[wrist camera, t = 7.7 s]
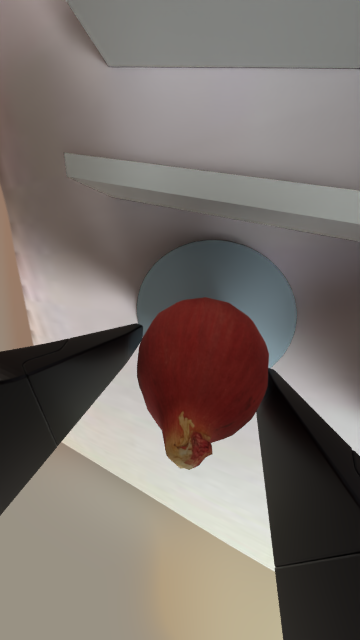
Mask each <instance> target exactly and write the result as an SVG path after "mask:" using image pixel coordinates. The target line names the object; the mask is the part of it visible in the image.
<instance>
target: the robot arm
mask: <svg viewBox="0 0 360 640" xmlns="http://www.w3.org/2000/svg"><path fill="white" fill-rule="evenodd" d="M142 337H143V326H142V325H140V324H137V323H136V324H131V325H127V326H122V327H118V328H113V329H109V330H105V331H100V332H96V333H91V334H87V335H82V336H78V337H73V338H70V339H64V340H60V341H55V342H51V343H46V344H41V345H35V346H30V347H25V348H19V349H13V350H7V351H1V352H0V515H1V514H2V513H3V512H4V510H5V509H6V508H7V507H8V506H9V504H10V503H11V502H12V501H13V500H14V498H15V497H16V496H17V495H18V493H19V492H20V491H21V490H22V489H23V487H24V486H25V485H26V484H27V483H28V481H29V480H30V479H31V478H32V477H33V475H34V474H35V473H36V472H37V471H38V469H39V468H40V467H41V466H42V465H43V463H44V462H45V461H46V460H47V458H48V457H49V456H50V455H51V454H52V453H53V451H54V450H55V449H56V448H57V446H58V445H59V444H60V443H61V441H62V440H63V439H64V438H65V437H66V435H67V434H68V433H69V432H70V431H71V429H72V428H73V427H74V426H75V425H76V423H77V422H78V421H79V420H80V419H81V417H82V416H83V415H84V414H85V413H86V411H87V410H88V409H89V408H90V406H91V405H92V404H93V403H94V402H95V400H96V399H97V398H98V397H99V396H100V394H101V393H102V392H103V391H104V390H105V388H106V387H107V386H108V385H109V384H110V382H111V381H112V380H113V379H114V378H115V376H116V375H117V374H118V373H119V372H120V370H121V369H122V368H123V367H124V365H125V364H126V363H127V362H128V360H129V359H130V357H131V356H132V354H133V353H134V351H135V350H136V348H137V347H138V345H139V344H140V342H141V340H142ZM256 413H257V422H258V431H259V439H260V447H261V456H262V464H263V473H264V481H265V489H266V498H267V506H268V514H269V523H270V531H271V539H272V548H273V556H274V564H275V574H276V583H277V591H278V599H279V608H280V616H281V625H282V633H283V640H360V456H359V455H358V454H357V453H356V452H355V451H353V450H352V448H351V447H350V446H349V445H348V444H347V443H346V442H345V441H344V440H343V439H342V438H341V437H340V436H339V435H338V434H337V433H336V432H335V431H334V430H333V429H332V428H331V427H330V426H329V425H328V424H327V423H326V422H325V421H324V420H323V419H322V418H321V417H320V416H319V415H318V414H317V413H316V412H315V411H314V410H313V409H312V408H311V407H310V406H309V405H308V403H307V402H306V401H305V400H304V399H303V398H302V397H301V396H300V395H299V394H298V393H297V392H296V391H295V390H294V389H293V388H292V387H291V386H290V385H289V384H288V383H287V382H286V381H285V380H284V379H283V378H282V377H281V376H280V375H279V374H278V373H277V372H276V371H275V370H273V369H270V368H268V386H267V389H266V392H265V395H264V397H263V399H262V401H261V403H260V405H259V407H258V409H257V411H256Z"/></svg>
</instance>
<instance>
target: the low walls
mask: <svg viewBox="0 0 360 640" xmlns="http://www.w3.org/2000/svg"><path fill="white" fill-rule="evenodd" d="M66 2H67V3H68V5H69V6H70V8H71V9H72V11H73V12H74V14H75V16H76V17H77V19H78V20H79V22H80V23H81V25H82V26H83V28H84V29H85V31H86V32H87V34H88V35H89V37H90V39H91V40H92V42H93V43H94V45H95V46H96V48H97V49H98V51H99V52H100V54H101V55H102V57H103V58H104V60H105V62H106V63H107V65H108V66H109V67H269V68H360V0H66ZM64 158H65V166H66V174H67V177H69V178H71V179H73V180H75V181H77V182H80V183H82V184H84V185H86V186H88V187H91V188H93V189H95V190H97V191H99V192H101V193H104V194H106V195H108V196H110V197H114V198H119V199H125V200H130V201H136V202H142V203H147V204H153V205H158V206H164V207H169V208H175V209H180V210H186V211H192V212H197V213H203V214H208V215H214V216H219V217H225V218H231V219H236V220H242V221H247V222H253V223H258V224H264V225H269V226H275V227H281V228H286V229H292V230H297V231H303V232H308V233H314V234H319V235H325V236H331V237H336V238H342V239H347V240H353V241H358V242H360V191H359V190H351V189H343V188H335V187H328V186H320V185H312V184H304V183H297V182H289V181H281V180H273V179H265V178H258V177H250V176H242V175H234V174H227V173H219V172H211V171H203V170H196V169H188V168H180V167H172V166H165V165H157V164H149V163H141V162H133V161H126V160H118V159H110V158H102V157H95V156H87V155H79V154H71V153H64Z"/></svg>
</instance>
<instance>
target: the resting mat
mask: <svg viewBox="0 0 360 640" xmlns="http://www.w3.org/2000/svg"><path fill="white" fill-rule="evenodd" d="M203 297H207V298H211V299H216V300H220V301H224V302H228V303H230V304H232V305H233V306H234V307H236V308H237V309H239V310H240V311H242V312H243V313H245V314H246V315H247V316H248V317H249V318H250V319H251V320H252V321H253V322H254V324H255V325H256V327H257V329H258V331H259V332H260V334H261V336H262V337H263V339H264V341H265V343H266V346H267V349H268V352H269V365H268V368H270V367H272V366H273V365H274V364H275V363H276V362H277V361H278V360H279V359H280V358H281V357H282V356H283V354H284V353H285V352H286V350H287V348H288V347H289V345H290V343H291V340H292V338H293V335H294V332H295V327H296V318H297V310H296V304H295V299H294V296H293V293H292V290H291V287H290V285H289V284H288V282H287V280H286V278H285V277H284V275H283V274H282V273H281V272H280V270H279V269H278V268H277V267H276V266H275V265H274V264H273V263H272V262H271V261H270V260H269V259H268V258H266V257H265V256H263V255H262V254H260V253H259V252H257V251H255V250H253V249H251V248H248V247H246V246H244V245H241V244H237V243H234V242H229V241H221V240H204V241H198V242H193V243H189V244H186V245H183V246H181V247H179V248H176V249H174V250H172V251H171V252H169V253H168V254H166V255H165V256H163V257H162V258H161V259H160V260H159V261H158V262H157V263H155V264H154V266H153V267H152V268H151V269H150V271H149V272H148V274H147V275H146V277H145V279H144V280H143V283H142V285H141V288H140V291H139V295H138V300H137V317H138V323H139V324H140V325H142V326H143V336H144V335H145V333H146V331H147V330H148V328H149V326H150V324H151V323H152V321H153V320H154V318H155V317H156V316H157V314H158V313H160V312H161V311H163V310H165V309H167V308H168V307H170V306H172V305H174V304H175V303H177V302H179V301H182V300H187V299H195V298H203Z"/></svg>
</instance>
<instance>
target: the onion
mask: <svg viewBox="0 0 360 640" xmlns="http://www.w3.org/2000/svg"><path fill="white" fill-rule="evenodd" d="M268 365H269V352H268V349H267V346H266V343H265V341H264V339H263V337H262V336H261V334H260V332H259V331H258V329H257V327H256V325H255V324H254V322H253V321H252V320H251V319H250V318H249V317H248V316H247V315H246V314H245V313H243V312H242V311H240V310H239V309H237V308H236V307H234V306H233V305H232V304H230V303H228V302H224V301H220V300H216V299H211V298H207V297H203V298H195V299H187V300H182V301H179V302H177V303H175V304H174V305H172V306H170V307H168V308H167V309H165V310H163V311H161V312H160V313H158V314H157V316H156V317H155V318H154V320H153V321H152V323H151V324H150V326H149V328H148V330H147V331H146V333H145V335H144V336H143V338H142V340H141V343H140V346H139V353H138V363H137V378H138V382H139V386H140V389H141V391H142V394H143V397H144V400H145V403H146V406H147V409H148V411H149V412H150V414H151V415H152V417H153V418H154V420H155V421H156V423H157V424H158V426H159V427H160V428H161V430H162V433H163V438H164V444H165V450H166V455H167V456H168V458H169V459H170V460H171V461H172V462H174V463H175V464H176V465H177V466H178V467H179V468H185V469H188V470H190V469H192V468H194V467H197V466H199V465H200V463H201V462H202V461H203V460H204V458H205V457H207V456H209V455H211V454H212V445H211V443H212V442H215V441H218V440H222V439H225V438H227V437H229V436H232V435H233V434H235V433H236V432H237V431H238V430H239V429H241V428H242V427H243V426H244V425H245V424H246V423H248V422H249V421H250V420H251V419H252V417H253V416H254V414H255V413H256V411H257V409H258V407H259V405H260V403H261V401H262V399H263V397H264V395H265V392H266V389H267V386H268Z"/></svg>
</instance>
